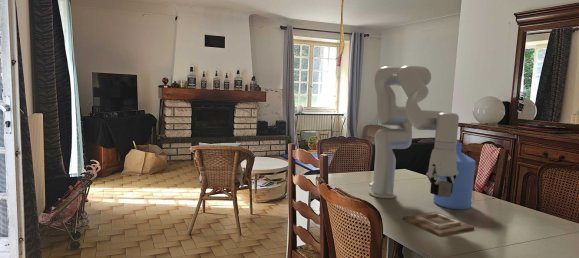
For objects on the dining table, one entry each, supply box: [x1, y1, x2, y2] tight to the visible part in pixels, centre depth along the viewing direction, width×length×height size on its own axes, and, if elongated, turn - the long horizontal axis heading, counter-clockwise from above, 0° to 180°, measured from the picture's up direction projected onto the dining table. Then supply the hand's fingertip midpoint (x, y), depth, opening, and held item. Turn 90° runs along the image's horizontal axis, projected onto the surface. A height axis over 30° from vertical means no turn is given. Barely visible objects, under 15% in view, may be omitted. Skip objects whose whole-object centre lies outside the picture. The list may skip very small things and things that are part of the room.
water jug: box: [433, 141, 476, 211], centre depth 170 cm, size 16×16×28 cm
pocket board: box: [402, 211, 475, 237], centre depth 145 cm, size 18×18×2 cm
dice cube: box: [436, 180, 452, 197], centre depth 143 cm, size 5×5×5 cm
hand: (441, 192), depth 144 cm, fingers closed on dice cube, 6 cm apart
